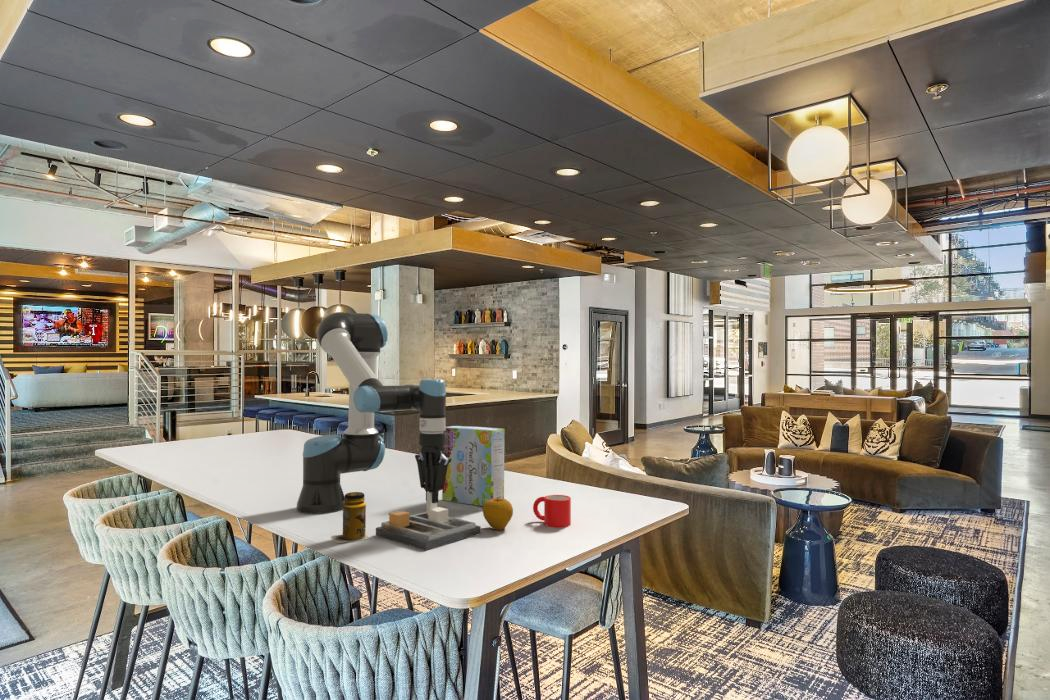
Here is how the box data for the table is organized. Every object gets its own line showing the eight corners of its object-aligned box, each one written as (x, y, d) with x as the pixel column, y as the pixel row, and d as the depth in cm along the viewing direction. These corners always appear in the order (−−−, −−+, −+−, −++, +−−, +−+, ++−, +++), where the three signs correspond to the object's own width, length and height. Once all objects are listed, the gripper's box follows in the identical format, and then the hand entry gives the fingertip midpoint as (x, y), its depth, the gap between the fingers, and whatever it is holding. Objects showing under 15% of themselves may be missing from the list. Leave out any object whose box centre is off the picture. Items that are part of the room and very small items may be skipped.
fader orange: (389, 525, 167) (389, 513, 167) (400, 522, 170) (400, 510, 170) (398, 528, 165) (398, 515, 165) (409, 525, 168) (409, 512, 168)
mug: (537, 517, 186) (537, 492, 186) (574, 522, 181) (574, 496, 181) (527, 524, 179) (527, 497, 179) (565, 528, 174) (565, 501, 174)
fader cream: (428, 521, 172) (428, 509, 172) (438, 519, 175) (439, 507, 175) (437, 524, 169) (437, 511, 169) (448, 521, 172) (448, 509, 172)
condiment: (370, 538, 163) (370, 494, 163) (338, 544, 158) (339, 498, 158) (361, 532, 169) (362, 489, 169) (331, 537, 164) (331, 493, 164)
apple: (477, 526, 176) (477, 495, 176) (506, 523, 179) (506, 493, 179) (488, 534, 167) (488, 502, 168) (517, 531, 171) (517, 499, 171)
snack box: (506, 503, 204) (506, 428, 205) (491, 508, 197) (491, 430, 198) (456, 496, 216) (456, 424, 217) (440, 500, 209) (441, 426, 209)
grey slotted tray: (375, 535, 166) (375, 523, 166) (430, 520, 181) (430, 510, 181) (425, 550, 153) (425, 537, 153) (480, 533, 168) (480, 522, 168)
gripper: (407, 431, 176) (407, 512, 175) (437, 435, 167) (437, 520, 167) (427, 429, 181) (427, 508, 181) (457, 432, 173) (456, 515, 172)
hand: (431, 513), depth 174 cm, fingers closed
